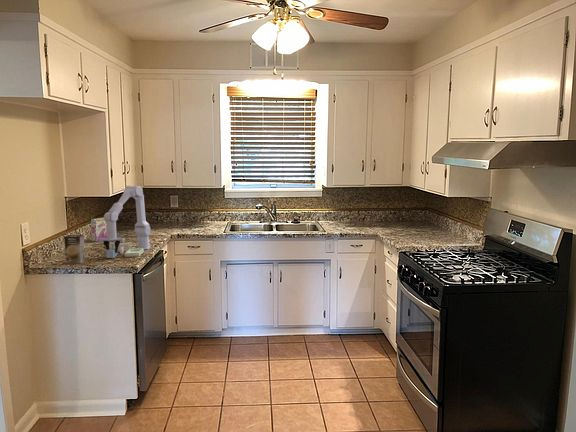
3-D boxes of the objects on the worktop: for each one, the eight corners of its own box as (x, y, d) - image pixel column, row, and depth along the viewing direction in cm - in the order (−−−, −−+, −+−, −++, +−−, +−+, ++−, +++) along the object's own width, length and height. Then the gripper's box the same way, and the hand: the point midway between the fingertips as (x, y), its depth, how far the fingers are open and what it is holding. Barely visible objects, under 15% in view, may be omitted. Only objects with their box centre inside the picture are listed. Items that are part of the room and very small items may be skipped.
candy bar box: (96, 241, 325) (94, 219, 323) (91, 241, 328) (90, 219, 325) (108, 239, 335) (107, 217, 333) (104, 238, 337) (103, 217, 335)
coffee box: (65, 263, 261) (63, 236, 259) (70, 261, 267) (68, 234, 265) (81, 263, 261) (79, 236, 259) (85, 260, 267) (84, 234, 265)
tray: (130, 252, 292) (130, 248, 292) (143, 251, 293) (143, 248, 293) (124, 257, 278) (124, 253, 277) (138, 256, 279) (138, 252, 278)
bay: (109, 251, 295) (109, 243, 294) (130, 250, 296) (129, 243, 296) (105, 254, 286) (105, 246, 285) (126, 253, 288) (126, 245, 287)
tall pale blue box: (111, 254, 282) (110, 242, 281) (117, 254, 282) (117, 242, 281) (106, 258, 272) (105, 246, 271) (113, 257, 273) (112, 245, 272)
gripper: (97, 232, 271) (98, 254, 273) (121, 232, 273) (122, 253, 275) (100, 230, 278) (101, 251, 280) (124, 230, 280) (125, 251, 282)
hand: (112, 252), depth 278 cm, fingers closed on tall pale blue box, 4 cm apart
